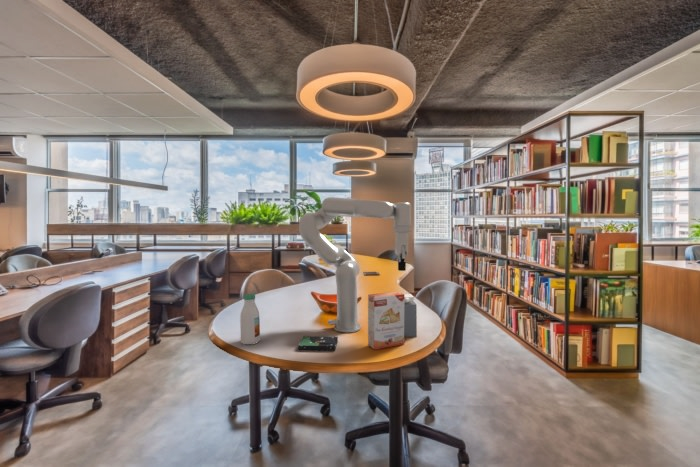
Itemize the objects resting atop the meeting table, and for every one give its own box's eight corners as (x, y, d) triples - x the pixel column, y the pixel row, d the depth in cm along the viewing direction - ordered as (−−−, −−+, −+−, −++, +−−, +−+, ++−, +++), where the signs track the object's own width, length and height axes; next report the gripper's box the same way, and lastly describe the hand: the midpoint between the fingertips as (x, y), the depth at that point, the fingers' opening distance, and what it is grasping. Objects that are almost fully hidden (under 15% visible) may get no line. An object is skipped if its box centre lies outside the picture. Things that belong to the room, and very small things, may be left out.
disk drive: (337, 343, 132) (302, 342, 133) (337, 336, 132) (302, 335, 133) (335, 353, 121) (297, 352, 122) (335, 346, 121) (297, 345, 122)
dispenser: (398, 336, 136) (398, 304, 136) (395, 330, 144) (395, 300, 144) (416, 336, 136) (416, 304, 136) (412, 330, 144) (412, 300, 144)
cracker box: (374, 350, 122) (374, 297, 121) (367, 345, 127) (367, 294, 127) (405, 344, 127) (404, 293, 127) (397, 339, 133) (396, 290, 132)
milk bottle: (249, 346, 127) (248, 297, 127) (236, 343, 131) (235, 295, 131) (263, 340, 134) (262, 293, 133) (251, 337, 138) (250, 292, 137)
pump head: (401, 328, 134) (401, 299, 134) (397, 321, 143) (397, 294, 143) (415, 327, 134) (415, 298, 134) (410, 321, 143) (410, 294, 143)
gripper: (392, 229, 149) (391, 268, 150) (395, 230, 134) (395, 272, 135) (407, 229, 149) (407, 268, 150) (413, 230, 134) (412, 273, 135)
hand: (401, 270), depth 142 cm, fingers closed
